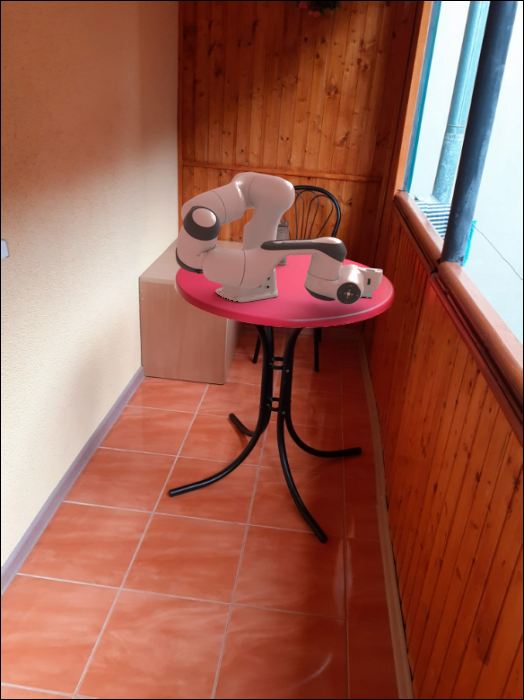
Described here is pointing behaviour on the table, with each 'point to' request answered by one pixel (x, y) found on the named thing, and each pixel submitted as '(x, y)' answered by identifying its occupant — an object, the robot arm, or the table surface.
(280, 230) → the coffee box
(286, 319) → the table surface
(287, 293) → the table surface
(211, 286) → the table surface
